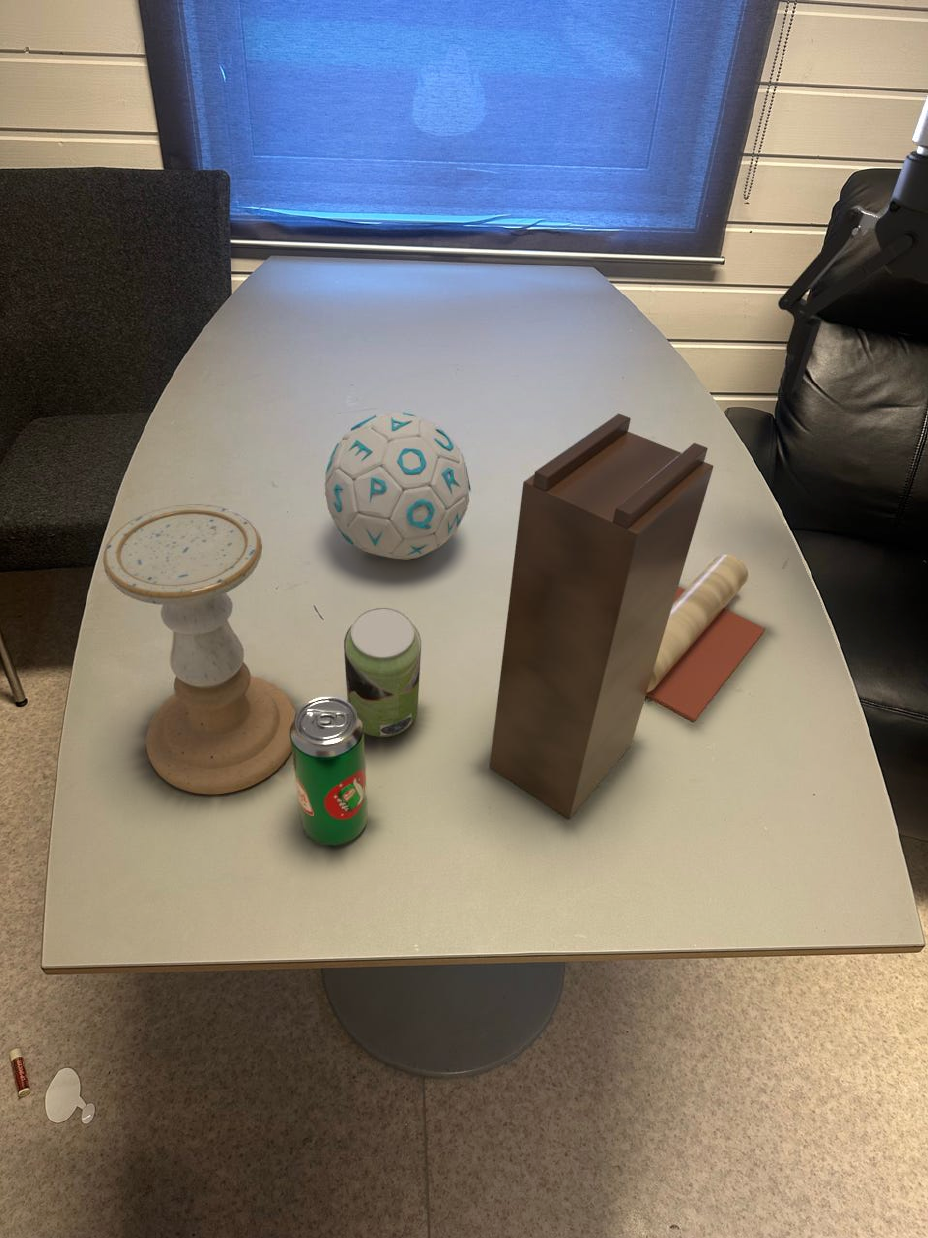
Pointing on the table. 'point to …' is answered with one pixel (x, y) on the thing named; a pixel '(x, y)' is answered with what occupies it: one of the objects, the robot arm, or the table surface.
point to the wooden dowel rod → (698, 610)
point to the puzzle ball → (397, 486)
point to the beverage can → (383, 670)
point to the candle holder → (203, 648)
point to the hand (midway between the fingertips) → (861, 410)
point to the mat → (706, 664)
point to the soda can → (330, 770)
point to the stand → (590, 606)
